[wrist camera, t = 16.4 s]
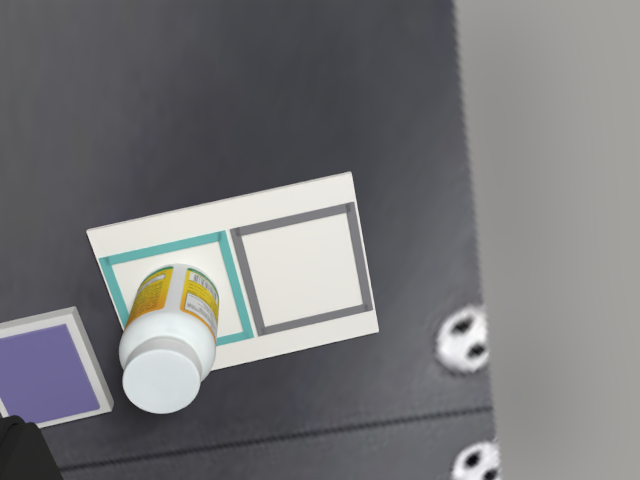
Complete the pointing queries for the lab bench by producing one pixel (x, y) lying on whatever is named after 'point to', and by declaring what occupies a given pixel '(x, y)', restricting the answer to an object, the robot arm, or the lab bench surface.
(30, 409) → the ink pad
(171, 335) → the supplement bottle
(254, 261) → the print sheet
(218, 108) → the lab bench surface
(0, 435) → the robot arm
